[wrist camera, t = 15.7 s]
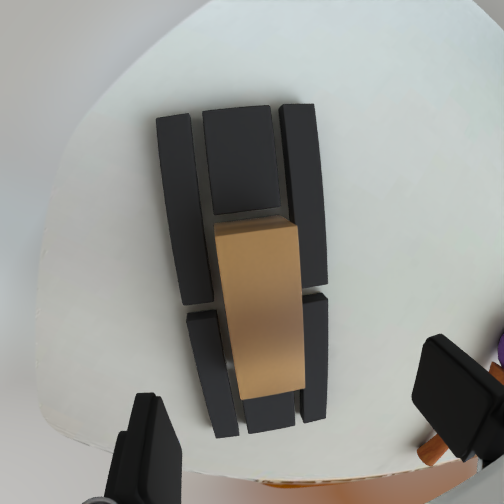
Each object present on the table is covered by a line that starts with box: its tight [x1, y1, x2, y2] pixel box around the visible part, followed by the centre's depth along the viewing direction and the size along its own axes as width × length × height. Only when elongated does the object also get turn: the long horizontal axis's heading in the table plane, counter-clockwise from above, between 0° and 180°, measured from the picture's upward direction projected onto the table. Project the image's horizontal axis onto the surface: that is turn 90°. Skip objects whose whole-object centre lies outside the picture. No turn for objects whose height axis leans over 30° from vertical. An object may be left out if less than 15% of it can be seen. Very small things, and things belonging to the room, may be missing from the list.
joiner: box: [214, 215, 305, 400], centre depth 18 cm, size 10×4×4 cm, turn 6°
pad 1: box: [156, 104, 328, 306], centre depth 18 cm, size 11×9×1 cm
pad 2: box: [186, 293, 328, 438], centre depth 21 cm, size 11×9×1 cm
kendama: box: [417, 333, 504, 466], centre depth 24 cm, size 6×6×20 cm
